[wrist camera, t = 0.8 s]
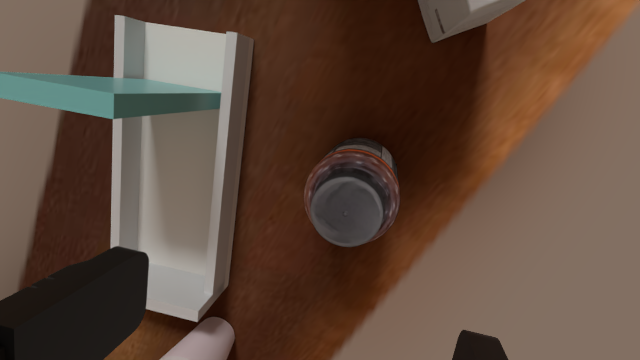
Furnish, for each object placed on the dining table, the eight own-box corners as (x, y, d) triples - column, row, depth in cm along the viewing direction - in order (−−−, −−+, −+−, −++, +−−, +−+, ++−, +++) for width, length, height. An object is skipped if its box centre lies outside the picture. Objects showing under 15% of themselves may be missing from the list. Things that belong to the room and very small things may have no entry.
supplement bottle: (381, 217, 32) (376, 282, 21) (314, 191, 32) (277, 242, 22) (409, 151, 30) (419, 184, 19) (338, 125, 31) (310, 143, 20)
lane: (144, 23, 32) (89, 7, 26) (254, 39, 30) (222, 27, 25) (135, 262, 37) (88, 294, 31) (228, 285, 36) (197, 322, 30)
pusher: (146, 79, 31) (-14, 71, 19) (226, 92, 30) (113, 93, 18) (146, 94, 32) (-13, 95, 19) (225, 108, 31) (113, 119, 18)
